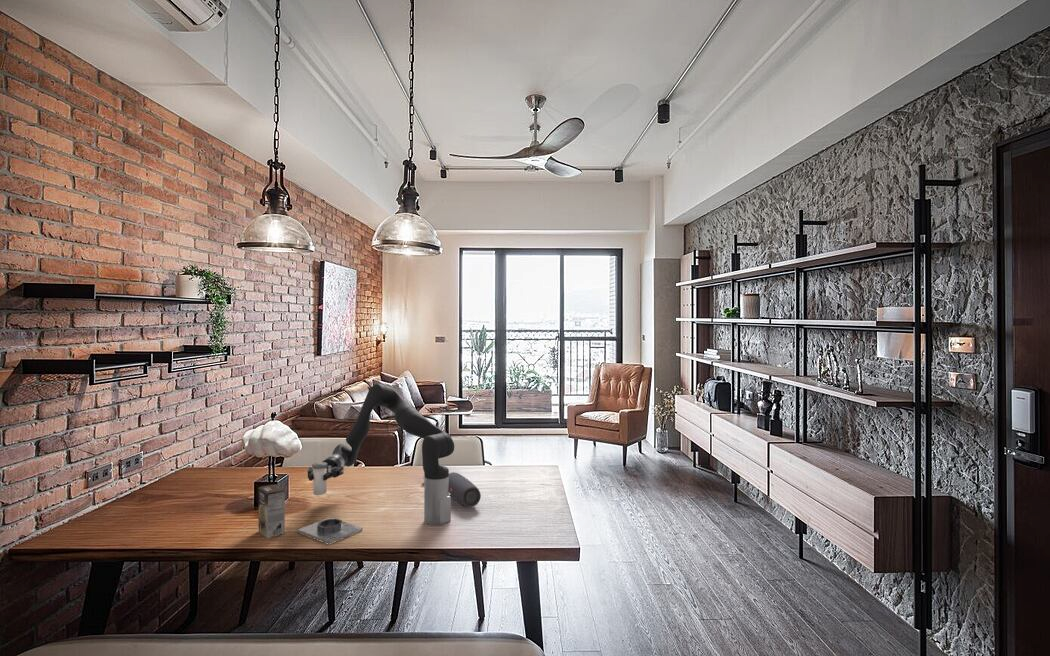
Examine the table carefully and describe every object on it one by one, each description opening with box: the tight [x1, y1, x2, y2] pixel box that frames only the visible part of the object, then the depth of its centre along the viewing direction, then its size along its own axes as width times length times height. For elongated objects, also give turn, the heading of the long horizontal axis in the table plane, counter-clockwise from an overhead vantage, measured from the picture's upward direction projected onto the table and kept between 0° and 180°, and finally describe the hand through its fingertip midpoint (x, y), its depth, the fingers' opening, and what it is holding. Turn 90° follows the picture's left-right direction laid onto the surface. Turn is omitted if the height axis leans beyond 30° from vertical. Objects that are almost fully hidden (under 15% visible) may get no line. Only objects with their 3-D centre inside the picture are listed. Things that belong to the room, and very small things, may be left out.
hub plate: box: [296, 516, 363, 545], centre depth 189 cm, size 18×14×3 cm
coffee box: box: [257, 483, 286, 539], centre depth 188 cm, size 9×6×16 cm
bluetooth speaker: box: [449, 472, 482, 508], centre depth 222 cm, size 23×9×10 cm, turn 27°
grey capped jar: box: [311, 461, 327, 496], centre depth 198 cm, size 5×5×11 cm
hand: (317, 478), depth 195 cm, fingers closed on grey capped jar, 4 cm apart
